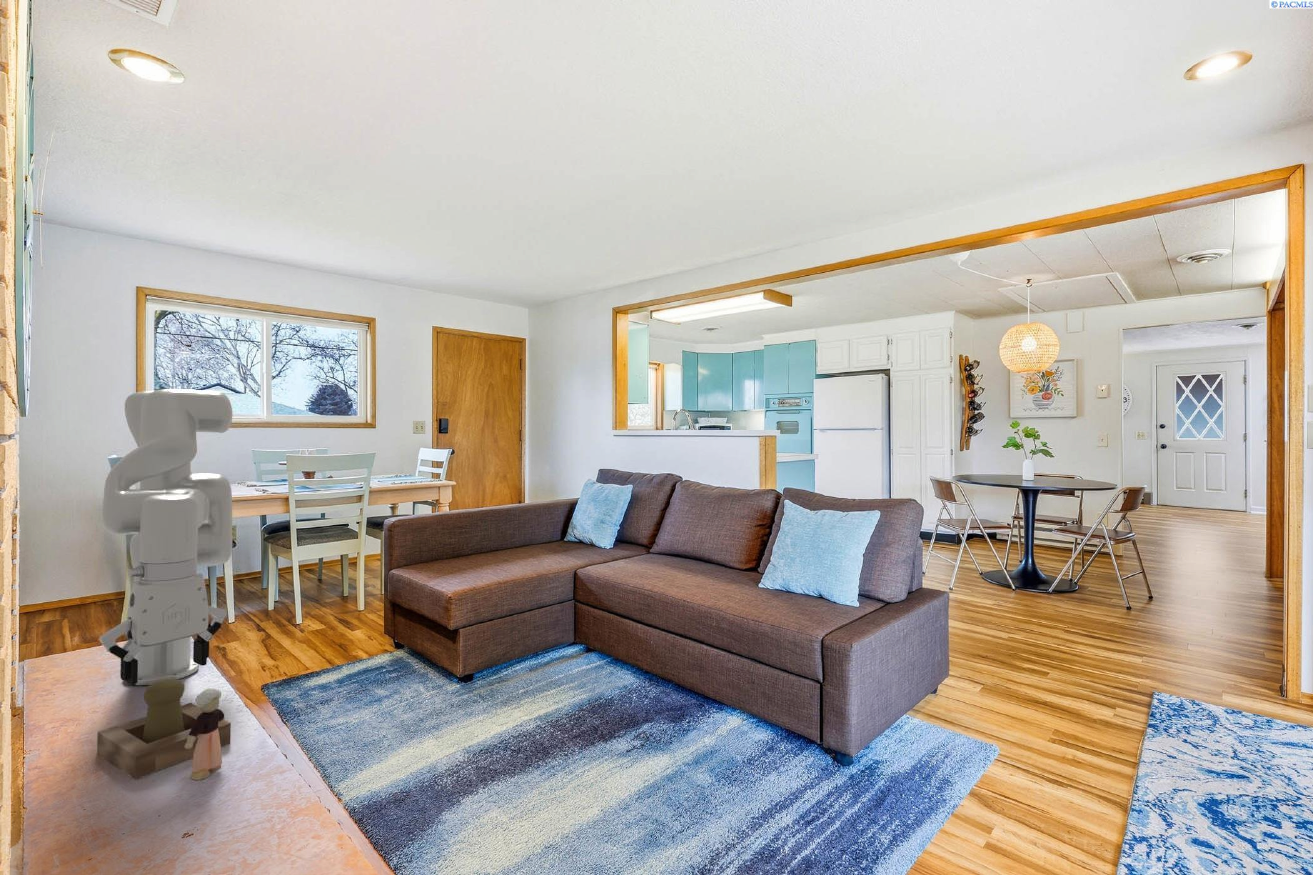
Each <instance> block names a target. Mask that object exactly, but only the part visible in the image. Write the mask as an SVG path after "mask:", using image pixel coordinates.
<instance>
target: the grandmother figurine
mask: <svg viewBox="0 0 1313 875" xmlns="http://www.w3.org/2000/svg"><path fill="white" fill-rule="evenodd" d="M221 697H222V692H221V690H219V689H217V688H207V689H204V690H203V691H202V692H200V693H199V694H198V695H197V696H196V698H195V705H196V706H197V707H199V709H200V710H201V711H202V713H201V714H200V715H199V716H198V717H197V719H196V721H195V723H194V725H193V727H192V729H191V731H190V733H189V736H188V739H187V743H186V744H185V749H190V748H192V747H193V742H194V741H195V739H196V737H198V741H197V744H196V747H195V750H194V754H193V758H192V768H191V771H192V772H191V773H190V775H189V778H190V779H192V780H194V781H202V780H204V779H207V778H209V776H211V773H210V772H214V771H216V770H219V769H220V768H221V767H222V765H223V754H222V747H221V745H220V737H219V731H218V723H219V726H224V725H226V722H227V721H228V720H227V719H226V717H225V713H224V712H223V711H222V709H220V708H218V707H219V706H220V699H221Z"/></svg>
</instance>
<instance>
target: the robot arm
mask: <svg viewBox="0 0 1313 875" xmlns="http://www.w3.org/2000/svg"><path fill="white" fill-rule="evenodd" d="M124 414H125V420H126V424H127V426H128V428H129V431H130V434H131V436H132V437H133V440H134V442H135V443H136V445H137V447H136V448H135V449H132V450H131V451H130V452H129V453H127V454H126V455H124V456H123V457H122V458H120V460H118V461H117V463H116V464H114V466H113V467H112V468H111V469H110V471H109V472H108V473H107V477H106V479H105V481H104V482H105V483H104V488H103V489H104V490H103V501H102V522H103V525H104V527H105V528H106V529H107V531H108V532H110V533H111V534H115V535H122V536H123V535H133V536H132V537H131V539H130V542H129V554H130V558H131V565H132V568H129V569H128V570H127V574H128V578H133V581H134V582H133V584H132V587H131V592H130V596H129V600H128V607H127V612H126V620H124V621H122V622H121V623H119V624H118V625H115V626H114V627H113V628H111V629H109V630H108V631H106V632H104V633H103V634H101V635H100V636H99V637H98V641H99V642H100V644H102V646H103V647H104V648H105V649H106V651H107V653H110V654H112V655H114V656H115V657H117V658H119V659H120V679H121V681H123V682H124V683H125V684H127V685H130V686H150V685H151V684H153V683H155V682H158V681H161V680H166V679H177V680H180V679H183V678H186V677H189V676H190V675H192V674H194V673H195V672H197V671H198V670H199V667H200V666H206V665H207V662H208V661H207V659H208V658H209V657H210V641H212V640H213V637H214V635H215V634H216V633H217V632H218V630H220V629H221V627H222V623H223V622H224V620H225V618H226V616H227V615H228V611H227V610H226V609H222V608H220V607H219V608H218V607H214V606H211V605H208V603H209V602H208V596H207V595H208V594H207V589H206V584H205V582H206V581H205V579H204V574H203V573H198V568H205V567H206V568H207V567H216V566H221V565H224V564H225V563H227V562H228V561H229V560H230V558H231V556H232V553H233V552H232V551H233V495H232V492H233V491H232V487H231V483H230V480H228V478H227V477H226V476H224V475H222V474H219V473H218V474H217V473H192V471H191V463H192V461H193V460H194V459H195V458H196V455H197V452H198V445H197V443H198V442H197V433H220V434H221V433H222V434H223V433H225V432H227V431H228V430H229V429H230V427H231V424H232V422H233V407H232V403H231V401H230V398H229V397H228V396H227V395H226V394H225V393H223V392H220V391H215V390H201V389H200V390H196V389H179V388H176V389H175V388H164V389H157V390H147V391H146V390H144V391H137V392H134V393H131V394H129V395H128V396H127V397H126V399H125V401H124ZM137 483H139V484H140V485H139V489H138V488H137V489H129V488H130V487H132V486H134V485H136V484H137ZM205 521H208V522H205ZM209 615H211V616H212V617H213V618H212V620H211V621H210V622H209V619H210V618H209ZM124 634H125V637H126V640H127V641H126V643H124V644H123V646H122V647H120V646H119V644H118V643H117V641H116V640H117V639H118V638H119V637H121V636H122V635H124ZM195 636H196V638H194V640H193V646H192V645H191V643H192V642H191V640H192V637H195ZM191 646H192V648H193V652H192V655H193V656H192V658H191ZM185 676H186V677H185Z"/></svg>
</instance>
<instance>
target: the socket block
mask: <svg viewBox="0 0 1313 875" xmlns="http://www.w3.org/2000/svg"><path fill="white" fill-rule="evenodd" d="M181 710H182V716H183V723H184V730H185V731H183V732H180V733H177V734H174V735H171V736H169V737H166V738H163V739H160V740H157V741H154V742H151V743H148V744H146V743H145V742H143V741H142V738H143V733H144V727H145V722H146V716H144V717H141V718H138V719H133V720H131V721H128V722H124V723H121V724H118V725H115V726H112V727H108V728H106V729H102V730H99V731H97V734H96V735H97V741H96V742H97V743H96V744H97V746H96V753H97V755H99V756H100V757H102V758H103V759H105V760H106V761H107V762H109V763H110V764H112V765H114V767H116V768H117V769H119V770H121V772H123V773H125V774H126V775H128V776H129V777H131V778H132V779H133V780H138V779H141V778H144V777H146V776H149V775H151V773H152V774H154V773H157V772H159V771H163V770H164V769H168V768H169V767H172V766H175V765H177V764H181V763H182V762H185V761H188V760H191V759H193V754H194V750H195V747H196V744H197V741H198V737H196V739H195V741H194V742H193V747H192V748H190V749H185V744H186V743H187V739H188V736H189V733H190V731H191V729H192V727H193V725H194V723H195V721H196V719H197V717H198V716H199V715H200V714H201V713H202V711H201V710H200V709H199V707H197V706H196V704H194V703H192V702H188V703H185V704H181ZM226 721H227V722H226V725H224V726H219V723H218V731H219V737H220V745H221V748H222V747H224V746H227V745H230V744H231V738H232V737H231V736H232V735H231V732H232V730H231V728H232V722H230V721H229V720H226ZM143 776H144V777H143Z"/></svg>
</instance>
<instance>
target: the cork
mask: <svg viewBox="0 0 1313 875" xmlns="http://www.w3.org/2000/svg"><path fill="white" fill-rule="evenodd" d="M184 693H185V684H184V683H183V681H182V680H180V679H166V680H161V681H158V682H155V683H153V684H151V685H147V687H146V689H145V691H144V694H143V700H144V703H146V705H147V712H146V716H145V717H146V722H145V727H144V733H143V738H142V741H143V742H145V743H146V744H148V743H151V742H154V741H157V740H160V739H163V738H166V737H169V736H171V735H174V734H177V733H180V732H183V731H185V730H184V723H183V716H182V710H181V705H182V703H181V699H182V698H183V696H184Z"/></svg>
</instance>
